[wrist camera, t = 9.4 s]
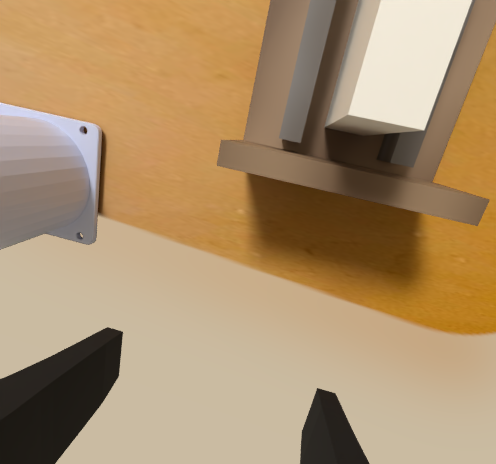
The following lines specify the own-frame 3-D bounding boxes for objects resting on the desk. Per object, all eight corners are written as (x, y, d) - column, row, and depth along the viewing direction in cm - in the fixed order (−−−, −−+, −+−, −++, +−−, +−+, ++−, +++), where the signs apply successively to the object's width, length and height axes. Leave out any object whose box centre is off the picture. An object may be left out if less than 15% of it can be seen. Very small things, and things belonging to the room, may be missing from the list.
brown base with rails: (244, 157, 18) (216, 165, 12) (294, -96, 15) (291, -269, 8) (414, 196, 17) (477, 226, 11) (513, -63, 14) (688, -230, 8)
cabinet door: (324, 127, 16) (348, 114, 8) (368, -36, 14) (456, -259, 6) (385, 140, 15) (468, 139, 8) (439, -25, 13) (625, -243, 6)
